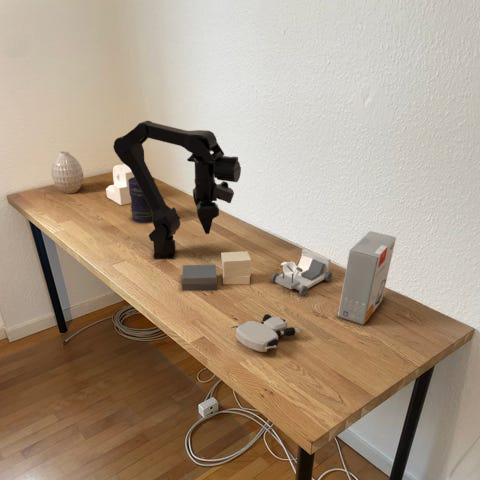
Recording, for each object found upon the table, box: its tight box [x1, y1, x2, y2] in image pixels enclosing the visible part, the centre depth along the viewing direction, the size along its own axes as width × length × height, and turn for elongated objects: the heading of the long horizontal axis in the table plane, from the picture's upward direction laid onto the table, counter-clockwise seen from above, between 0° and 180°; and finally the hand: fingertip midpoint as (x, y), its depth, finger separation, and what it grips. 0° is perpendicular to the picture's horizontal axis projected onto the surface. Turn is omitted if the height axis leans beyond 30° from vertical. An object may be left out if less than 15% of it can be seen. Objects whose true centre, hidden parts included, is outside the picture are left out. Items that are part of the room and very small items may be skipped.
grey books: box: [181, 264, 218, 291], centre depth 143 cm, size 10×9×4 cm
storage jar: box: [128, 177, 156, 224], centre depth 181 cm, size 10×10×15 cm
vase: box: [50, 150, 84, 194], centre depth 206 cm, size 13×13×17 cm
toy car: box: [270, 248, 333, 297], centre depth 142 cm, size 18×10×12 cm
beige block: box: [221, 264, 252, 285], centre depth 145 cm, size 8×6×5 cm
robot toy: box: [228, 313, 301, 353], centre depth 119 cm, size 12×4×15 cm
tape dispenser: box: [105, 163, 134, 206], centre depth 201 cm, size 16×10×13 cm, turn 41°
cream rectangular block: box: [220, 250, 252, 269], centre depth 143 cm, size 8×6×3 cm
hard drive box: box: [337, 230, 397, 326], centre depth 128 cm, size 16×8×20 cm, turn 148°
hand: (205, 227), depth 149 cm, fingers open, 9 cm apart
